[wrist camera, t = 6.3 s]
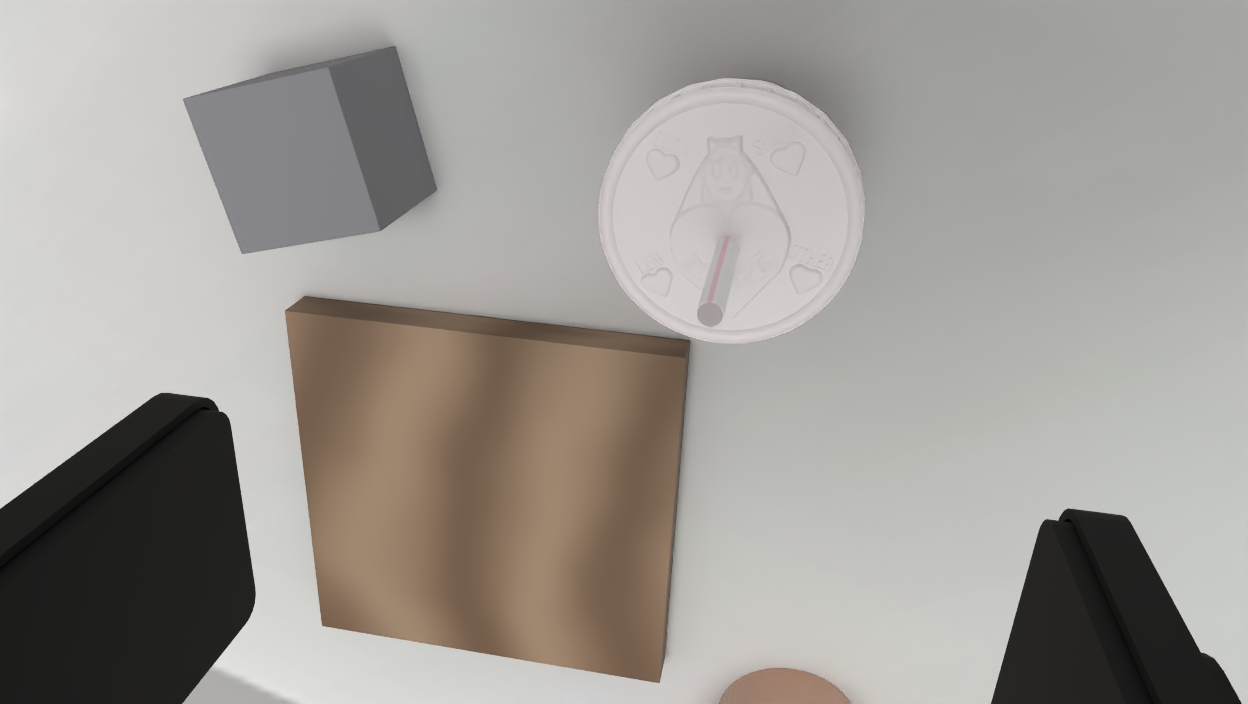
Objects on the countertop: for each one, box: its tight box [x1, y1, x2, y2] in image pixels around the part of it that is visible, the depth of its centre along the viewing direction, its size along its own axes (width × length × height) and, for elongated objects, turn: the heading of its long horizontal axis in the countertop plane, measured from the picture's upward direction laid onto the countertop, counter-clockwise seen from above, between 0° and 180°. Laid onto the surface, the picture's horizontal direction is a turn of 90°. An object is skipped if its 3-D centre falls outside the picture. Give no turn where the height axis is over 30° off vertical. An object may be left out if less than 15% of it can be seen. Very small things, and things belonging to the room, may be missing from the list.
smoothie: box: [598, 78, 866, 344], centre depth 25 cm, size 6×6×14 cm
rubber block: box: [183, 46, 437, 254], centre depth 31 cm, size 5×5×5 cm
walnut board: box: [285, 296, 690, 683], centre depth 38 cm, size 15×15×2 cm
